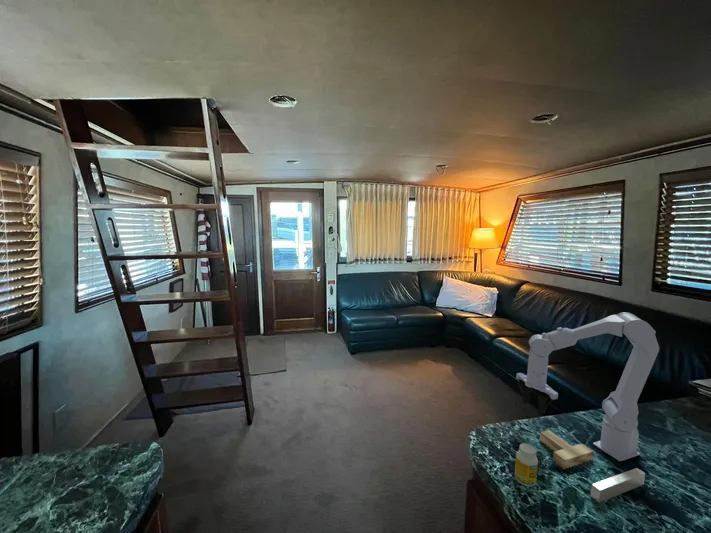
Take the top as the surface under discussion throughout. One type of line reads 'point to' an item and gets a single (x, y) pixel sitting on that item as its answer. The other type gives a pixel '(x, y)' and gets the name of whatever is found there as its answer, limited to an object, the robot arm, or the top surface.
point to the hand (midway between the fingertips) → (533, 407)
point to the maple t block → (566, 450)
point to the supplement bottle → (526, 465)
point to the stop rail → (617, 484)
